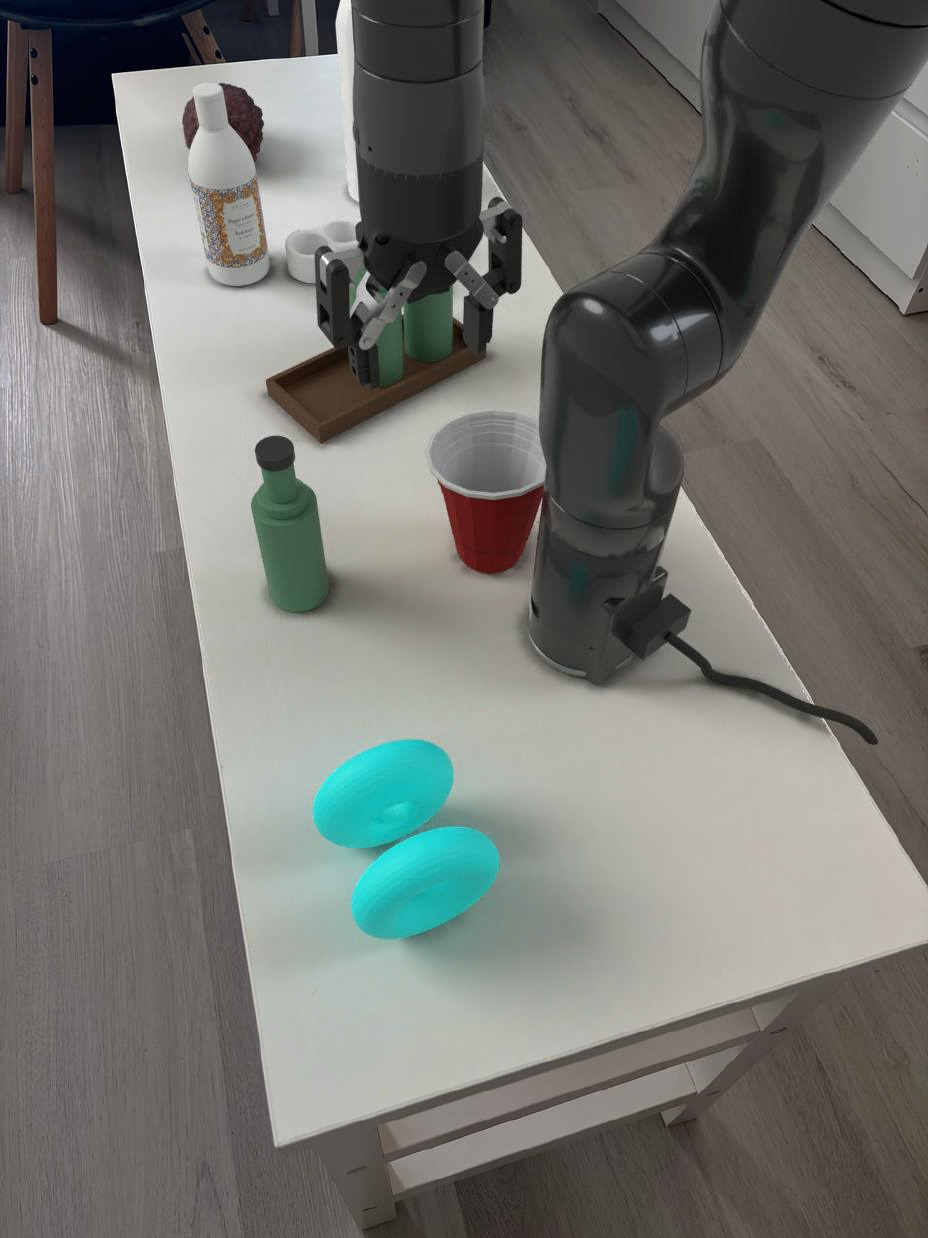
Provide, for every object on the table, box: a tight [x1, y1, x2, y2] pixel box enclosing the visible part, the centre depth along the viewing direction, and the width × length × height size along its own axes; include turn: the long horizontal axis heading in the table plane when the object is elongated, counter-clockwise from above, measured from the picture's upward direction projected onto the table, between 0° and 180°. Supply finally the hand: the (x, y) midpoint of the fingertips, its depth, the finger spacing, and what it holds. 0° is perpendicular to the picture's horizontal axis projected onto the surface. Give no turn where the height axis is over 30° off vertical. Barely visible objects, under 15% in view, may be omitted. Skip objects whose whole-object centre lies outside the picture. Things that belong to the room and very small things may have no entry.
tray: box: [265, 313, 488, 444], centre depth 100 cm, size 9×21×2 cm, turn 130°
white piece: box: [284, 215, 361, 285], centre depth 111 cm, size 3×18×15 cm
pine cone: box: [181, 82, 265, 164], centre depth 124 cm, size 18×10×10 cm
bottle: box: [335, 0, 359, 204], centre depth 111 cm, size 8×8×30 cm
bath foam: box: [187, 82, 271, 287], centre depth 104 cm, size 7×7×20 cm
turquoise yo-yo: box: [312, 738, 501, 940], centre depth 64 cm, size 10×10×10 cm
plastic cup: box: [424, 407, 546, 575], centre depth 82 cm, size 11×11×12 cm
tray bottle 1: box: [349, 221, 404, 387], centre depth 94 cm, size 5×5×16 cm
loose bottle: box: [250, 435, 330, 613], centre depth 77 cm, size 5×5×16 cm
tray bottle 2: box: [402, 284, 454, 362], centre depth 97 cm, size 5×5×16 cm
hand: (422, 364), depth 70 cm, fingers open, 8 cm apart
